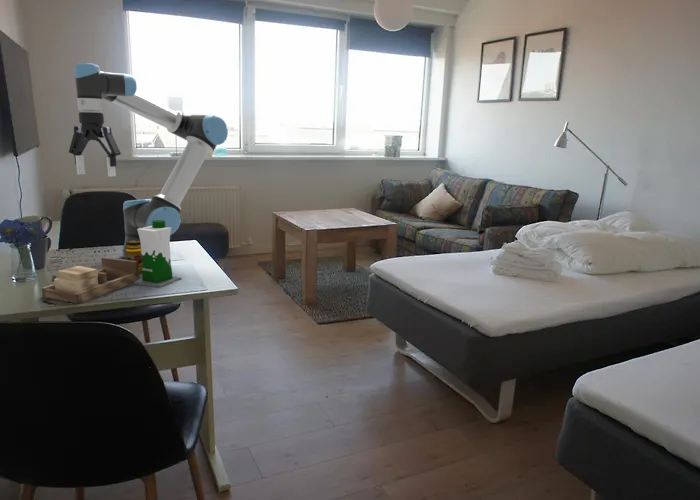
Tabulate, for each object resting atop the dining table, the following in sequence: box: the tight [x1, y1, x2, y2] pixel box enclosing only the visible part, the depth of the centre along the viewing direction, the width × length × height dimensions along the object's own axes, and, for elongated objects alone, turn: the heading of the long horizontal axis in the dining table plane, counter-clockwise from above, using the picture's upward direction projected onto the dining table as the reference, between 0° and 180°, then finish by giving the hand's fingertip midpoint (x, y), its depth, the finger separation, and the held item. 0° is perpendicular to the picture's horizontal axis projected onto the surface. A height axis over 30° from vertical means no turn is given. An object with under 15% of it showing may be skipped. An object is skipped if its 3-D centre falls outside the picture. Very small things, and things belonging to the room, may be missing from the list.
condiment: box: [125, 240, 142, 277], centre depth 183 cm, size 7×8×12 cm
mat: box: [133, 275, 182, 288], centre depth 175 cm, size 11×11×1 cm
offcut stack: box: [53, 265, 100, 293], centre depth 160 cm, size 8×10×8 cm
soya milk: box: [137, 220, 174, 283], centre depth 173 cm, size 9×9×20 cm
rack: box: [41, 256, 140, 304], centre depth 165 cm, size 25×14×7 cm, turn 161°
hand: (96, 175), depth 177 cm, fingers open, 13 cm apart
